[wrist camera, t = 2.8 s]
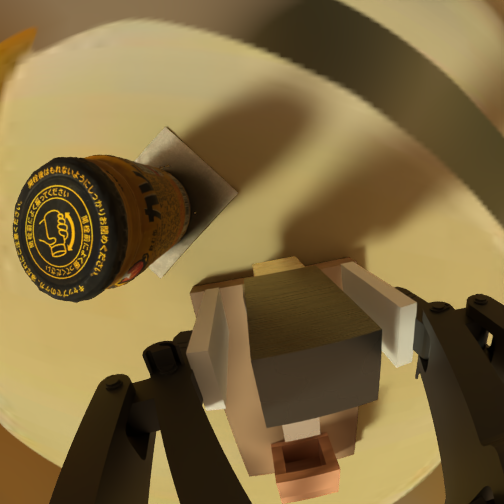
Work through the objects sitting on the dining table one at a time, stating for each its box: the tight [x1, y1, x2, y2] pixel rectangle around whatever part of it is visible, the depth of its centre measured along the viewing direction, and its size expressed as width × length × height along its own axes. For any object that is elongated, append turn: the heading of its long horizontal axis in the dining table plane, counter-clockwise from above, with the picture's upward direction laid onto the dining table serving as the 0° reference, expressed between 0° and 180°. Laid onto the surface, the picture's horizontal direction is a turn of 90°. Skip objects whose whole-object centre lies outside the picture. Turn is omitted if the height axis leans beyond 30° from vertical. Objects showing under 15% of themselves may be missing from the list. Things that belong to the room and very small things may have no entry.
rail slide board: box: [190, 257, 358, 504], centre depth 20 cm, size 12×23×7 cm, turn 10°
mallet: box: [244, 256, 382, 442], centre depth 14 cm, size 4×14×11 cm, turn 10°
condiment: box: [13, 127, 238, 303], centre depth 14 cm, size 7×8×12 cm
